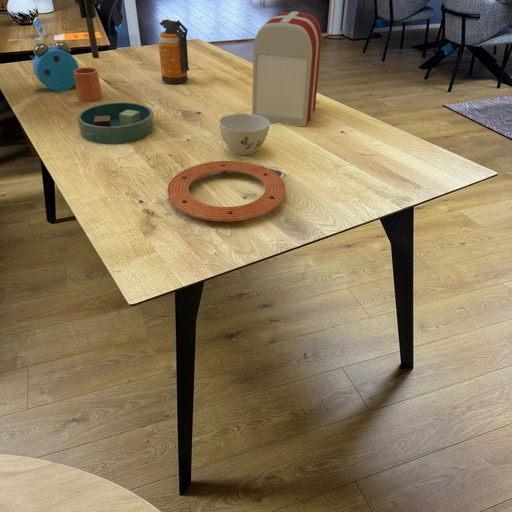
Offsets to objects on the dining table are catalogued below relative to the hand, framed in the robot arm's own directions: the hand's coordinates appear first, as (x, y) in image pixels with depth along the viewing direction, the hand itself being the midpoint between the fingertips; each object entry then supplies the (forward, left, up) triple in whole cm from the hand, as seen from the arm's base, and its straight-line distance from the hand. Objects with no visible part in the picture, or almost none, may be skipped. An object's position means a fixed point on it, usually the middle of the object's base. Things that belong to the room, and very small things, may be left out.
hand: (88, 17), depth 130 cm
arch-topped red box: (+55, +2, -26) cm, 61 cm away
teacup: (+44, -25, -26) cm, 57 cm away
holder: (-7, +10, -26) cm, 29 cm away
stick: (0, 0, -10) cm, 10 cm away
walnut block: (+6, -19, -25) cm, 32 cm away
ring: (+42, -50, -26) cm, 70 cm away
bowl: (+9, -16, -26) cm, 32 cm away
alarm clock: (-20, +19, -26) cm, 38 cm away
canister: (+17, +32, -26) cm, 44 cm away
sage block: (+12, -14, -25) cm, 31 cm away
